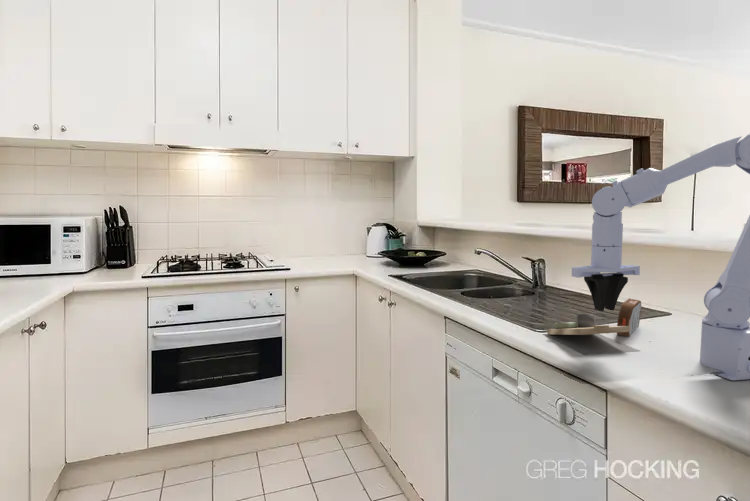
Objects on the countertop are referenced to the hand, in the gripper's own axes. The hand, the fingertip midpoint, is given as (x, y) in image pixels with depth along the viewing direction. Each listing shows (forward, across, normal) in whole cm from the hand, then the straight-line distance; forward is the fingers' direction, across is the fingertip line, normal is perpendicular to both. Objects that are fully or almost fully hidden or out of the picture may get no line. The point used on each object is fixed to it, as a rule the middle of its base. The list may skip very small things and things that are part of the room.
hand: (604, 309), depth 98 cm
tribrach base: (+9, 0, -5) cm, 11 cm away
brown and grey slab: (+10, -16, -12) cm, 22 cm away
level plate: (+7, 0, -6) cm, 9 cm away
